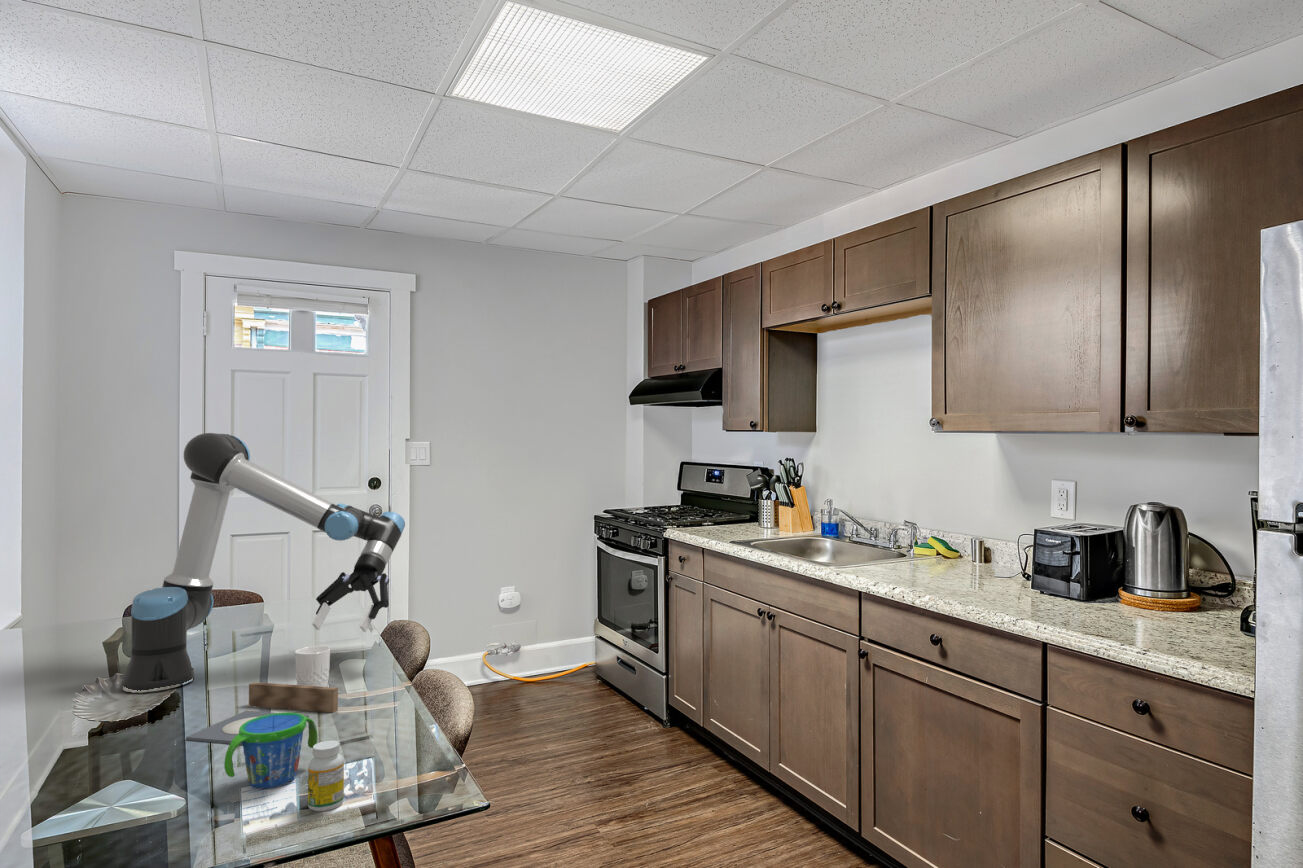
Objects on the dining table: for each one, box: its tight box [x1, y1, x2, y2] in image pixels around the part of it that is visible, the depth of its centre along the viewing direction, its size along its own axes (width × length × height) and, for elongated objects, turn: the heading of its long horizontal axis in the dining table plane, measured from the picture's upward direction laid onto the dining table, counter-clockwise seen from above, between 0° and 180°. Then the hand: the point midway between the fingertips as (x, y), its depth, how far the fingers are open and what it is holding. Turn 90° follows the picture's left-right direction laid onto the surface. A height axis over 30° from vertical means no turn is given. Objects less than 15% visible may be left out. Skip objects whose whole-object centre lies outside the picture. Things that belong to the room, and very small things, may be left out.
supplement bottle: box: [307, 740, 345, 812], centre depth 120 cm, size 5×5×10 cm
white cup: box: [294, 645, 331, 687], centre depth 180 cm, size 8×8×10 cm
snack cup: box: [223, 711, 319, 789], centre depth 130 cm, size 16×10×10 cm
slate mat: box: [185, 710, 310, 746], centre depth 155 cm, size 16×16×1 cm
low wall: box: [248, 681, 339, 713], centre depth 168 cm, size 22×2×5 cm, turn 77°
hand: (338, 628), depth 189 cm, fingers open, 13 cm apart
